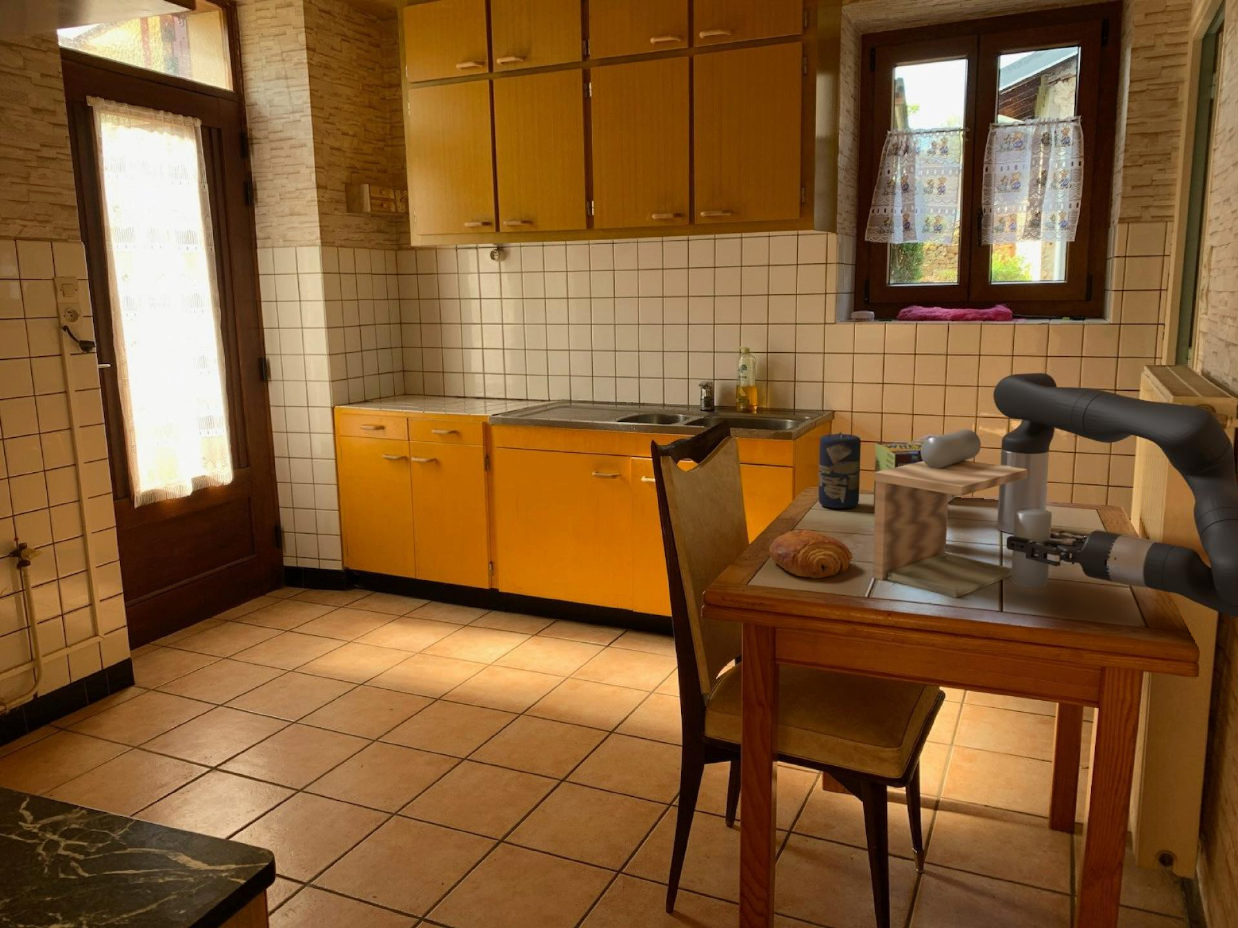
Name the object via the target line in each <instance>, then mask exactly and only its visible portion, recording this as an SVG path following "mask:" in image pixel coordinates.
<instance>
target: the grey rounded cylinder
mask: <svg viewBox="0 0 1238 928" xmlns="http://www.w3.org/2000/svg"><path fill="white" fill-rule="evenodd" d="M1052 514H1053V512H1052V511H1050V510H1047V509H1046V510H1042V509H1034V508H1022V509H1017V510H1015V517H1014V534H1013V536H1015V537H1020V538H1025V539H1030V540H1031V539H1033V540H1040V541H1044V540H1045V539H1046V538H1050V536H1051V532H1052V517H1053V516H1052ZM1049 547H1050V545H1049ZM1036 552H1038V550H1037V549H1036ZM1011 555H1012V556H1011V557H1012V560H1011V568H1012V571H1011V576H1010V581H1011V582H1012V583H1013V584H1014V585H1016V586H1017V585H1018V586H1021V587H1027V588H1042V587H1043V588H1044V587H1046V586H1047V585H1048V582H1049V569H1050V568H1049V567H1050V566H1049V564H1046V563H1042V562H1038V561H1035V560H1031V559H1027V558H1026V553H1023V552H1018V551H1014V550H1012V554H1011Z"/></svg>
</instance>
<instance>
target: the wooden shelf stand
mask: <svg viewBox="0 0 1238 928" xmlns="http://www.w3.org/2000/svg"><path fill="white" fill-rule="evenodd" d="M1024 478H1027V469H1022V468H1015V467H1008V466H1001V464H993V463H986V462H979V461H971V460H965V461H961V462H958V463H955V464H952V465H948V466H945V467H942V468H937V469H936V468H931V467H929V466H927V465H926V464H925V463H924V461H922V462H917V463H913V464H909V465H904V466H900V467H895V468H891V469H887V470H882V471H878V472H875V471H874V472H873V482H874V481H876V489H875V507H874V523H873V524H874V525H873V555H872V556H873V557H872V559H873V561H872V578H873V579H875V580H876V579H877V580H881V581H883V580H888V581H892V582H895V583H900V584H903V585H907V586H910V587H914V588H918V589H921V590H925V591H928V590H929V591H930V592H931V593H932V592H933V593H935V594H941V595H943V596H947V597H950V598H951V597H952V598H959V597H962V596H963V595H966V594H969V593H972V592H974V591H976V590H977V591H978V590H979V589H982V588H984V587H986V586H989V585H991V584H994V583H996V582H998V581H1001V580H1005V579H1007V578H1009V577H1011V574H1012V567H1007V566H1003V565H1000V564H994V563H991V562H986V561H982V560H977V559H972V558H969V557H964V556H959V555H955V554H951V553H946V546H947V536H946V523H947V524H948V515H947V502H948V494H953V495H957V496H960V497H961V496H966V495H970V494H972V493H973V494H974V493H976V492H980V491H984V490H986V489H991V488H995V487H999V485H1002V484H1006V483H1009V482H1013V481H1017V480H1020V479H1024ZM948 503H949V502H948ZM945 545H946V546H945ZM929 591H928V592H929Z"/></svg>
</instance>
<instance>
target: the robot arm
mask: <svg viewBox="0 0 1238 928" xmlns="http://www.w3.org/2000/svg"><path fill="white" fill-rule="evenodd" d="M992 396H993V402H994V404H995V406H996V408H997V410H998V411H999V412H1000V413H1001V414H1002V415H1003V416H1005V417H1007V418H1009V419H1014V420H1020V421H1021V422H1020V424H1019V425H1018V426H1017V427H1016V428H1015V429H1014V430H1012V431H1010V432H1007V433H1006V434H1004V435H1003V436H1002V438H1001V450H1000V451H1001V452H1000V465H1001V466H1008V467H1015V468H1022V469H1027V478H1024V479H1020V480H1017V481H1013V482H1009V483H1006V484H1002V485H999V486H998V502H997V518H996V519H997V520H996V528H997V530H999V531H1002V532H1004V533H1008V534H1013V535H1010V536H1008V537H1006V548H1007V550H1009V551H1013V550H1014V551H1018V552H1023V553H1026V558H1027V559H1031V560H1035V561H1038V562H1042V563H1046V564H1049V565H1050V566H1054V567H1059V566H1061V563H1063V564H1065V565H1075V564H1077V563H1078V564H1079V565H1080V566H1081V569H1082V572H1083V573H1084V575H1085V576H1087V577H1089V578H1093V579H1097V580H1103V581H1107V582H1111V583H1116V584H1121V585H1126V586H1130V587H1136V588H1137V587H1139V588H1146V589H1152V590H1157V591H1162V592H1168V593H1172V594H1177V595H1180V596H1181V597H1184V598H1186V599H1188V600H1190V601H1192V602H1195V603H1197V604H1198V605H1201V606H1203V607H1207V608H1209V609H1211V610H1213V611H1216V612H1218V613H1219V614H1220V613H1221V614H1223V615H1226V616H1230V617H1234V618H1238V482H1237V476H1236V465H1235V464H1236V463H1235V455H1234V448H1233V444H1232V440H1231V439H1230V438H1229V437H1230V436H1229V435H1228V434H1227V432H1226V431H1225V429H1224V428H1223V426H1222V425H1221V423H1220V421H1219V419H1217V417H1216V416H1215V415H1214V413H1212V412H1211V411H1210V410H1207V409H1205V408H1204V407H1200V406H1196V405H1189V404H1187V405H1186V404H1181V403H1180V404H1179V403H1169V402H1159V401H1158V402H1157V401H1150V400H1146V399H1142V398H1135V397H1132V396H1126V395H1122V394H1119V393H1114V392H1111V391H1105V390H1101V389H1096V388H1089V387H1074V386H1073V387H1070V386H1068V387H1067V386H1066V387H1065V386H1064V387H1063V386H1062V387H1061V386H1057V383H1056V381H1055V379H1054V378H1053V377H1052V376H1051V375H1050V374H1048V373H1043V372H1035V373H1034V372H1033V373H1032V372H1031V373H1028V372H1027V373H1014V374H1011V375H1007V376H1005V377H1003V378H1002V379H1001V380H999V381H998V382H997V384H996V385H995V386H994V390H993V395H992ZM1055 429H1058V430H1061V431H1063V432H1067V433H1070V434H1072V435H1073V434H1074V435H1076V436H1079V437H1081V438H1085V439H1088V440H1092V441H1094V442H1095V441H1096V442H1099V443H1104V444H1105V443H1106V444H1111V443H1117V442H1120V441H1122V440H1125V439H1128V438H1130V437H1131V436H1134V437H1139V438H1142V439H1145V440H1147V441H1150V442H1152V443H1154V444H1155V445H1156V446H1158V447H1159V449H1161V451H1162V452H1163V453H1164V455H1165V456H1166V458H1167V460H1168V461H1169V463H1170V465H1171V466H1172V467H1173V468H1174V469H1175V470H1176V471H1177V472H1178V473H1179V474H1180V476H1181V477H1182V478H1183V480H1184V481H1185V482H1186V484H1187V486H1188V487H1189V489H1190V491H1191V493H1192V495H1193V497H1194V506H1193V518H1194V524H1195V528H1196V531H1197V533H1198V534H1197V535H1198V537H1199V541H1200V544H1201V546H1202V549H1203V551H1204V552H1205V554H1206V556H1207V557H1208V561H1209V565H1207V564H1206V563H1205V561H1204V560H1203V559H1202V558H1201V556H1200V554H1199V552H1197V551H1196V550H1194V549H1192V548H1189V547H1187V546H1180V545H1176V544H1170V543H1164V542H1158V541H1154V540H1150V539H1146V538H1144V537H1139V536H1133V535H1128V534H1122V533H1116V532H1109V531H1105V530H1099V529H1097V530H1094V531H1091V532H1090V533H1089V534H1088V533H1082V532H1074V531H1073V532H1072V531H1068V530H1067V531H1065V530H1059V531H1058V532H1056V531H1051V536H1050V538H1046V539H1045V540H1044V541H1040V540H1033V539H1031V540H1030V539H1025V538H1020V537H1015V536H1014V517H1015V510H1017V509H1022V508H1034V509H1042V510H1047V498H1048V475H1049V474H1048V472H1049V460H1050V459H1049V457H1050V445H1051V443H1052V440H1053V438H1054V436H1055ZM1049 545H1050V547H1049ZM1036 549H1037V550H1038V552H1036Z"/></svg>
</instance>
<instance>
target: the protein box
mask: <svg viewBox="0 0 1238 928" xmlns="http://www.w3.org/2000/svg"><path fill="white" fill-rule="evenodd" d="M922 445H923V444H921V443H917V442H914V443H911V442H875V449H874V450H875V451H874V452H875V453H874V472H878V471H882V470H887V469H891V468H895V467H900V466H904V465H909V464H913V463H917V460H918V459H917V453H918V451H920V450H921V447H922ZM873 482H874V483H873V487H874V488H873V507H874V508H875V489H876V481H874V480H873Z"/></svg>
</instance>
